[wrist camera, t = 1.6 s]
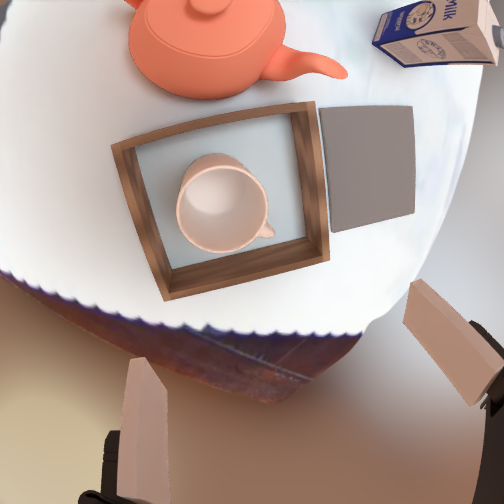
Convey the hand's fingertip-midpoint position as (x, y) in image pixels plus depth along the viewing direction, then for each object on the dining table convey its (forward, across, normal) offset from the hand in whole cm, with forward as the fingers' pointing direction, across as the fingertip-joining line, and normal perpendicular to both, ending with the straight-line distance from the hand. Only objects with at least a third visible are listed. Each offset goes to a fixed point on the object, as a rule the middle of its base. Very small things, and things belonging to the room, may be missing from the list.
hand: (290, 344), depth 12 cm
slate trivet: (+27, +22, 0) cm, 34 cm away
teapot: (+27, +2, +20) cm, 34 cm away
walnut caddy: (+27, 0, 0) cm, 27 cm away
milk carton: (+27, +29, +20) cm, 44 cm away
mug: (+27, 0, 0) cm, 27 cm away
